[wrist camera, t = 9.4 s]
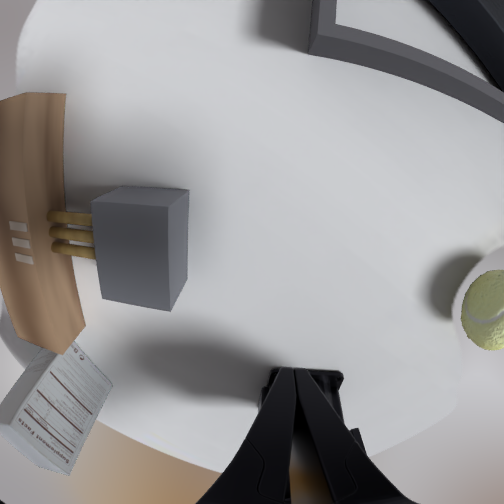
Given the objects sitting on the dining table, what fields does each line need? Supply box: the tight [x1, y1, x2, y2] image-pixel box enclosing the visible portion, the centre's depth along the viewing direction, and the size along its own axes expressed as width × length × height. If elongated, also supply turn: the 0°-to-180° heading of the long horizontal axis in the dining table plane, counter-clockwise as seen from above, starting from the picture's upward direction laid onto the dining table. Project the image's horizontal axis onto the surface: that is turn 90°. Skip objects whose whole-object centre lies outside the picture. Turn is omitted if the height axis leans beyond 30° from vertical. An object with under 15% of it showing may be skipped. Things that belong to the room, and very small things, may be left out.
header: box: [0, 93, 96, 355], centre depth 17 cm, size 11×20×4 cm, turn 174°
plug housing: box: [91, 186, 189, 312], centre depth 18 cm, size 5×6×4 cm
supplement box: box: [0, 341, 112, 476], centre depth 21 cm, size 7×7×13 cm
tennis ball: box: [461, 270, 504, 350], centre depth 17 cm, size 6×7×7 cm
